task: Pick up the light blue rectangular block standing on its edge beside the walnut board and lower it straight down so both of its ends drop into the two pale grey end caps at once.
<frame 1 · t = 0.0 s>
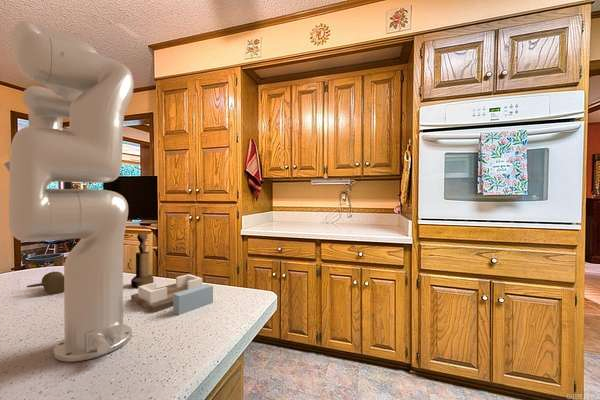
hand: (46, 193, 82), 31 cm above the countertop, tool pointing down, fingers open, 9 cm apart
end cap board: (171, 297, 80), on the countertop
light blue rectangular block: (193, 307, 73), on the countertop
kendama: (69, 288, 89), on the countertop
end caps: (171, 287, 80), on the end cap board, point 2 cm above the countertop
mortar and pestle: (142, 285, 92), on the countertop
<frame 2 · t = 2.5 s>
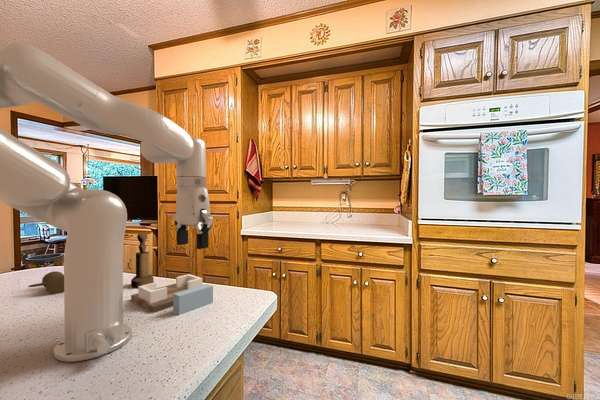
hand: (192, 246, 73), 17 cm above the countertop, tool pointing down, fingers open, 9 cm apart
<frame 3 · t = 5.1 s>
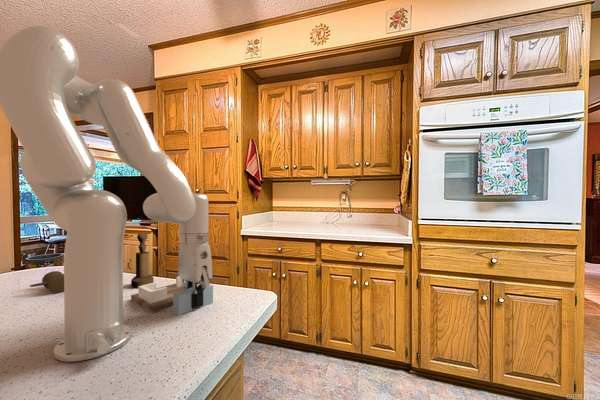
hand: (193, 305, 73), 1 cm above the countertop, tool pointing down, fingers closed on light blue rectangular block, 2 cm apart
light blue rectangular block: (193, 307, 73), on the countertop, touching gripper
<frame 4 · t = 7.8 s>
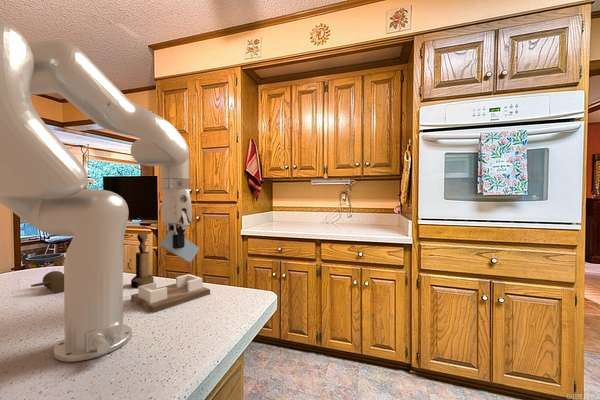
hand: (175, 246, 79), 15 cm above the countertop, tool pointing down, fingers closed on light blue rectangular block, 2 cm apart
light blue rectangular block: (175, 253, 79), point 13 cm above the countertop, tilted 38°, touching gripper
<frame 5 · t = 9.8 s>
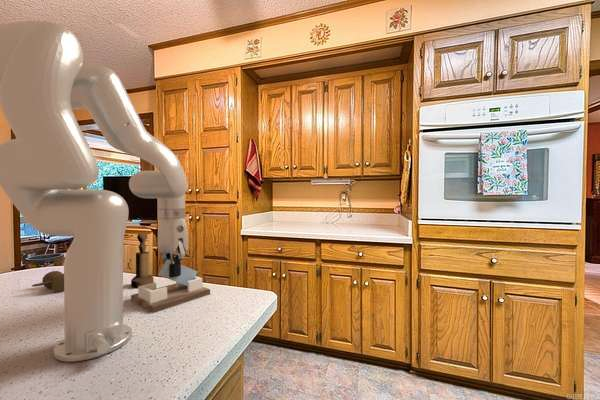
hand: (172, 274, 81), 7 cm above the countertop, tool pointing down, fingers closed on light blue rectangular block, 3 cm apart
light blue rectangular block: (174, 281, 81), point 5 cm above the countertop, tilted 32°, touching end caps, gripper
when the fingers open (4 cm above the countertop, at t = 11.0 s): light blue rectangular block drops 1 cm, resting on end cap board.
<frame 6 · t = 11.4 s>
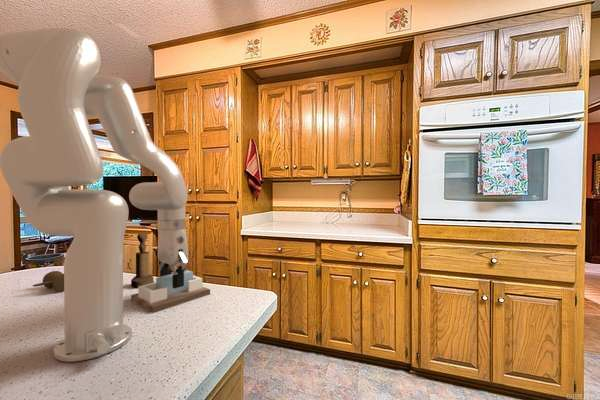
hand: (171, 284, 80), 4 cm above the countertop, tool pointing down, fingers open, 6 cm apart
light blue rectangular block: (175, 290, 81), point 1 cm above the countertop, touching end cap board
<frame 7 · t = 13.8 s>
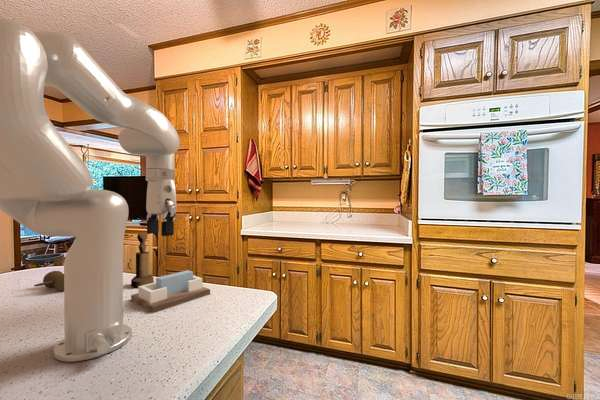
hand: (159, 234, 79), 19 cm above the countertop, tool pointing down, fingers open, 9 cm apart
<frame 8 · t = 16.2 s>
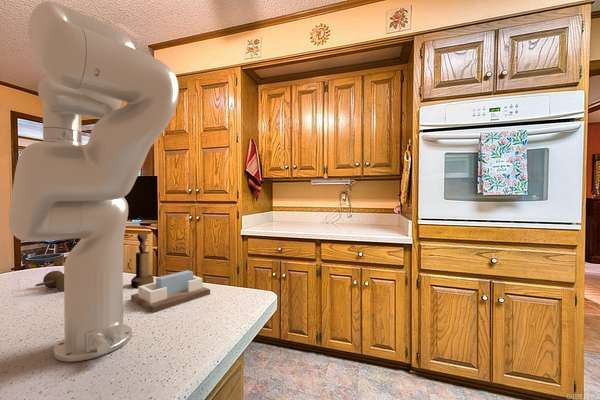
hand: (63, 203, 70), 28 cm above the countertop, tool pointing down, fingers open, 9 cm apart
at the end: light blue rectangular block 1.1 cm off-centre on the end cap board, point 1.5 cm above the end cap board's base; light blue rectangular block tilted 0°; the gripper is holding nothing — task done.
